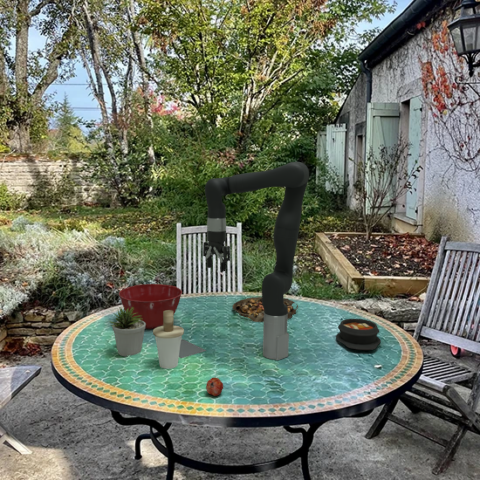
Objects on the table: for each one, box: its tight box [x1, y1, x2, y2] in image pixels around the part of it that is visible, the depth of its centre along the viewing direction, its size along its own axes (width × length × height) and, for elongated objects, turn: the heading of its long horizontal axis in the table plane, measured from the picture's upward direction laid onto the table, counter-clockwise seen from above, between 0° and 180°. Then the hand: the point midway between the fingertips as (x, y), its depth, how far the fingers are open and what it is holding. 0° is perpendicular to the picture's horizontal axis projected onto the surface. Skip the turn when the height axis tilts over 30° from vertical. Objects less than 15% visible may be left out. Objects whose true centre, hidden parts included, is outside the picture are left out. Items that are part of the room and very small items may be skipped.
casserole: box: [335, 318, 382, 351], centre depth 203 cm, size 25×19×8 cm
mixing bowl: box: [118, 283, 183, 330], centre depth 221 cm, size 28×28×15 cm
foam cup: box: [154, 335, 183, 370], centre depth 175 cm, size 10×9×13 cm
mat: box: [179, 338, 207, 359], centre depth 192 cm, size 16×12×1 cm
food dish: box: [232, 296, 299, 323], centre depth 243 cm, size 35×33×8 cm
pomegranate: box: [205, 376, 224, 397], centre depth 156 cm, size 6×6×8 cm
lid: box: [152, 310, 185, 338], centre depth 173 cm, size 11×11×8 cm
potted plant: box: [108, 307, 146, 357], centre depth 187 cm, size 13×14×20 cm
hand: (216, 269), depth 192 cm, fingers open, 8 cm apart
